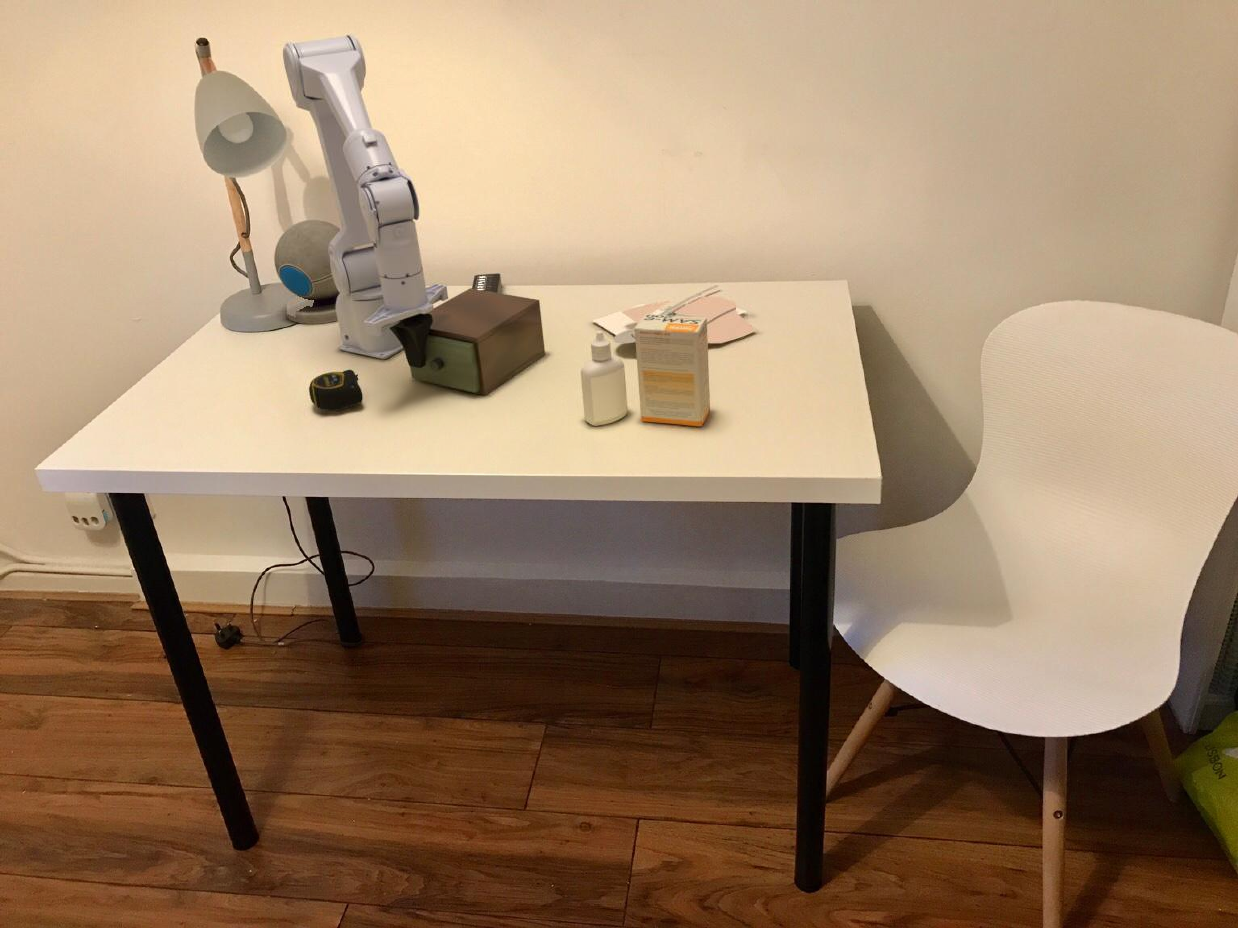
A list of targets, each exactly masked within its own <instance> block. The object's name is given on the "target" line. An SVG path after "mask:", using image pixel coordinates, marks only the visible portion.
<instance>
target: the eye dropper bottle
mask: <svg viewBox="0 0 1238 928" xmlns="http://www.w3.org/2000/svg"><path fill="white" fill-rule="evenodd" d="M590 350H591V359H589V360H588V361H587V362H586V363H585V364H584V365H583V366H582V367H581V370H580V381H581V382H580V383H581V393H582V404H583V405H582V406H583V415H584V420H585V421H586V422H587V423H589V424H590V425H591V426H594V427H595V426H604V425H608V424H611V423H614V422H617V421H619V420H620V419H622V418H624V417H625V416H626V415H627V414H628V397H627V386H626V385H627V384H626V383H627V381H626V371H625V363H624V361H623V360H622V359H621V357H618V356H616V355H612V348H611V341H610V340H609V339H607V338H605V335H604V332H603V331H602V330H598V331H597V332H596V336H595V339H594V340H592V341H591V342H590Z"/></svg>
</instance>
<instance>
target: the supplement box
mask: <svg viewBox="0 0 1238 928" xmlns="http://www.w3.org/2000/svg"><path fill="white" fill-rule="evenodd" d="M634 330H635V341H636V342H635V353H636V355H635V356H636V367H637V379H638V380H637V381H638V394H639V408H640V417H641V418H640V419H641V422H649V423H660V424H670V425H671V424H672V425H683V426H693V427H702V426H703V424H704V422H705V421H706V419H707V417H708V416H709V413H710V411H711V395H710V392H711V391H710V369H709V343H708V338H707V318H701V317H685V316H668V315H652V314H646V315H645V316H644V317H643V318H642V319H641V320H640V322H639V323H638V324H637V325H636V327H635V328H634Z"/></svg>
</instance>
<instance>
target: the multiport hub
mask: <svg viewBox="0 0 1238 928" xmlns="http://www.w3.org/2000/svg"><path fill="white" fill-rule="evenodd" d="M502 287H503V285H502V277H501V273H498V272H497V273H485V274H476V275H474V276H473V282H472V287H471V289H477V290H483V291H489V292H495V293H501V294H502Z"/></svg>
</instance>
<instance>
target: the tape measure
mask: <svg viewBox="0 0 1238 928" xmlns="http://www.w3.org/2000/svg"><path fill="white" fill-rule="evenodd" d="M358 376H359V374H356V373H355V371H354V370H353V369H346V370H343V371H330V372H325V373H322V374H320V375H317V376H315V377H314V378H313V379H312V380H311V381H310V384H309V386H308V393H309V397H310V401H311V402H312V404H313V405H314V406H315V407H316V408H317V409H319V410H323V411H340V410H343V409H346V408H350V407H352V406H356V405H358V404H360V403H362V402H363V399H364V396H363V392H362V388H361V387H360V384H359V382H358V381H359V377H358Z"/></svg>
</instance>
